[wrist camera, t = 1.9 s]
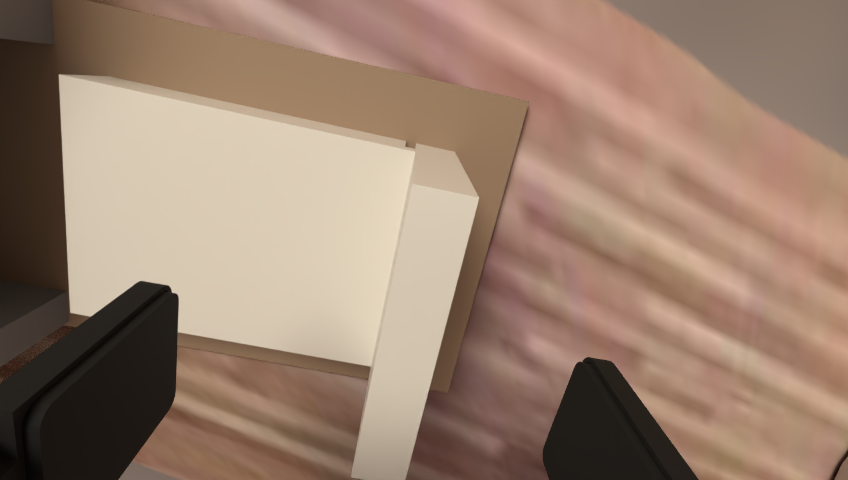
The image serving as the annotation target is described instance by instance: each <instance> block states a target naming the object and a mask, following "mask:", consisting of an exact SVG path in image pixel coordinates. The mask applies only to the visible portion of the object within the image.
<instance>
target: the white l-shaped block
mask: <svg viewBox="0 0 848 480" xmlns="http://www.w3.org/2000/svg"><path fill="white" fill-rule="evenodd" d="M59 92H60V112H61V133H62V154H63V175H64V195H65V216H66V237H67V258H68V279H69V299H70V313H74V314H79V315H85V316H92V315H94V314H95V313H96V312H98V311H99V310H101V309H102V308H103V307H105V306H106V305H107V304H109V303H110V302H111V301H113V300H114V299H115V298H117V297H118V296H120V295H121V294H122V293H124V292H125V291H126V290H128V289H129V288H130V287H132V286H133V285H134V284H136V283H137V282H139V281H146V282H151V283H157V284H163V285H169V286H170V287H171V290H172V293H176V294H177V295H178V297H179V310H178V332H180V333H186V334H191V335H197V336H202V337H208V338H214V339H219V340H225V341H230V342H236V343H241V344H247V345H253V346H258V347H264V348H269V349H275V350H281V351H286V352H292V353H297V354H303V355H308V356H314V357H320V358H325V359H331V360H336V361H342V362H348V363H353V364H359V365H364V366H370V367H371V368H370V374H369V379H368V385H367V390H366V396H365V401H364V407H363V412H362V418H361V423H360V429H359V434H358V440H357V445H356V451H355V456H354V462H353V468H352V473H351V478H358V479H364V480H405V479H406V475H407V472H408V468H409V464H410V460H411V456H412V453H413V449H414V445H415V441H416V437H417V433H418V430H419V426H420V422H421V418H422V414H423V411H424V407H425V403H426V399H427V395H428V391H429V388H430V384H431V380H432V376H433V372H434V369H435V365H436V361H437V357H438V353H439V350H440V346H441V342H442V338H443V334H444V330H445V327H446V323H447V319H448V315H449V311H450V308H451V304H452V300H453V296H454V292H455V288H456V285H457V281H458V277H459V273H460V269H461V266H462V262H463V258H464V254H465V250H466V247H467V243H468V239H469V235H470V231H471V227H472V224H473V220H474V216H475V212H476V208H477V205H478V201H479V196H478V194H477V193H476V191H475V189H474V187H473V185H472V183H471V181H470V179H469V178H468V176H467V174H466V172H465V170H464V168H463V166H462V164H461V163H460V161H459V159H458V157H457V155H456V153H455V152H454V151H449V150H445V149H440V148H435V147H431V146H426V145H422V144H417V143H416V146H415V149H413V148H408V147H405V146H406V141H403V140H399V139H394V138H390V137H385V136H380V135H376V134H371V133H367V132H362V131H358V130H353V129H348V128H344V127H339V126H335V125H330V124H326V123H321V122H316V121H312V120H307V119H303V118H298V117H294V116H289V115H284V114H280V113H275V112H271V111H266V110H261V109H257V108H252V107H248V106H243V105H239V104H234V103H229V102H225V101H220V100H216V99H211V98H207V97H202V96H197V95H193V94H188V93H184V92H179V91H175V90H170V89H165V88H161V87H156V86H152V85H147V84H142V83H138V82H133V81H129V80H124V79H120V78H115V77H110V76H90V75H65V74H59Z"/></svg>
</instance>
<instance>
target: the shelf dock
mask: <svg viewBox="0 0 848 480" xmlns="http://www.w3.org/2000/svg"><path fill="white" fill-rule="evenodd" d="M59 74H65V75H90V76H110V77H115V78H120V79H124V80H129V81H133V82H138V83H142V84H147V85H152V86H156V87H161V88H165V89H170V90H175V91H179V92H184V93H188V94H193V95H197V96H202V97H207V98H211V99H216V100H220V101H225V102H229V103H234V104H239V105H243V106H248V107H252V108H257V109H261V110H266V111H271V112H275V113H280V114H284V115H289V116H294V117H298V118H303V119H307V120H312V121H316V122H321V123H326V124H330V125H335V126H339V127H344V128H348V129H353V130H358V131H362V132H367V133H371V134H376V135H380V136H385V137H390V138H394V139H399V140H403V141H406V146H405V147H408V148H413V149H415V146H416V143H417V144H422V145H426V146H431V147H435V148H440V149H445V150H449V151H454V152H455V153H456V155H457V157H458V159H459V161H460V163H461V164H462V166H463V168H464V170H465V172H466V174H467V176H468V178H469V179H470V181H471V183H472V185H473V187H474V189H475V191H476V193H477V194H478V196H479V201H478V205H477V208H476V212H475V216H474V220H473V224H472V227H471V231H470V235H469V239H468V243H467V247H466V250H465V254H464V258H463V262H462V266H461V269H460V273H459V277H458V281H457V285H456V288H455V292H454V296H453V300H452V304H451V308H450V311H449V315H448V319H447V323H446V327H445V330H444V334H443V338H442V342H441V346H440V350H439V353H438V357H437V361H436V365H435V369H434V372H433V376H432V380H431V384H430V388H429V390H433V391H438V392H444V393H448V391H449V387H450V383H451V380H452V376H453V373H454V369H455V365H456V362H457V358H458V355H459V351H460V348H461V344H462V340H463V337H464V333H465V330H466V326H467V323H468V319H469V315H470V312H471V308H472V305H473V301H474V297H475V294H476V290H477V287H478V283H479V280H480V276H481V272H482V269H483V265H484V262H485V258H486V255H487V251H488V247H489V244H490V240H491V237H492V233H493V229H494V226H495V222H496V219H497V215H498V212H499V208H500V204H501V201H502V197H503V194H504V190H505V187H506V183H507V179H508V176H509V172H510V169H511V165H512V161H513V158H514V154H515V151H516V147H517V144H518V140H519V136H520V133H521V129H522V126H523V122H524V119H525V115H526V111H527V108H528V104H529V102H528V101H524V100H520V99H515V98H511V97H507V96H502V95H498V94H494V93H489V92H485V91H481V90H476V89H472V88H468V87H463V86H459V85H455V84H450V83H446V82H441V81H437V80H433V79H428V78H424V77H420V76H415V75H411V74H407V73H402V72H398V71H394V70H389V69H385V68H381V67H376V66H372V65H368V64H363V63H359V62H355V61H350V60H346V59H341V58H337V57H333V56H328V55H324V54H320V53H315V52H311V51H307V50H302V49H298V48H294V47H289V46H285V45H281V44H276V43H272V42H268V41H263V40H259V39H255V38H250V37H246V36H241V35H237V34H233V33H228V32H224V31H220V30H215V29H211V28H207V27H202V26H198V25H194V24H189V23H185V22H181V21H176V20H172V19H168V18H163V17H159V16H155V15H150V14H146V13H141V12H137V11H133V10H128V9H124V8H120V7H115V6H111V5H107V4H102V3H98V2H94V1H89V0H0V367H1V366H3V365H4V364H6V363H7V362H9V361H10V360H12V359H13V358H15V357H16V356H18V355H19V354H21V353H22V352H24V351H25V350H27V349H28V348H30V347H32V346H33V345H35V344H36V343H38V342H39V341H41V340H42V339H44V338H45V337H47V336H48V335H50V334H51V333H53V332H54V331H56V330H57V329H59V328H60V327H62V326H63V325H65V326H71V327H78V326H79V325H80V324H82V323H83V322H84V321H86V320H87V319H88V318H90V317H91V316H85V315H79V314H74V313H70V299H69V279H68V258H67V237H66V216H65V195H64V175H63V154H62V133H61V112H60V92H59ZM177 345H178V346H184V347H189V348H195V349H201V350H206V351H212V352H218V353H223V354H229V355H235V356H240V357H246V358H252V359H257V360H263V361H269V362H274V363H280V364H286V365H291V366H297V367H303V368H308V369H314V370H319V371H325V372H331V373H336V374H342V375H348V376H353V377H359V378H365V379H369V374H370V368H371V367H370V366H364V365H359V364H353V363H348V362H342V361H336V360H331V359H325V358H320V357H314V356H308V355H303V354H297V353H292V352H286V351H281V350H275V349H269V348H264V347H258V346H253V345H247V344H241V343H236V342H230V341H225V340H219V339H214V338H208V337H202V336H197V335H191V334H186V333H180V332H178V337H177Z"/></svg>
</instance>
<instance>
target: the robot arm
mask: <svg viewBox="0 0 848 480" xmlns="http://www.w3.org/2000/svg"><path fill="white" fill-rule="evenodd" d="M178 310H179V297H178V295H177V294H176V293H172V290H171V287H170V286H169V285H163V284H157V283H151V282H146V281H139V282H137V283H136V284H134V285H133V286H132V287H130V288H129V289H128V290H126V291H125V292H124V293H122V294H121V295H120V296H118V297H117V298H115V299H114V300H113V301H111V302H110V303H109V304H107V305H106V306H105V307H103V308H102V309H101V310H99V311H98V312H96V313H95V314H94V315H92V316H91V317H90V318H88V319H87V320H86V321H84V322H83V323H82V324H80V325H79V326H78V327H76V328H75V329H73V330H72V331H71V332H69V333H68V334H67V335H65V336H64V337H63V338H61V339H60V340H59V341H57V342H56V343H54V344H53V345H52V346H50V347H49V348H48V349H46V350H45V351H44V352H42V353H41V354H40V355H38V356H37V357H35V358H34V359H33V360H31V361H30V362H29V363H27V364H26V365H25V366H23V367H22V368H21V369H19V370H18V371H17V372H15V373H14V374H12V375H11V376H10V377H8V378H7V379H6V380H4V381H3V382H2V383H0V480H118V479H119V478H120V476H121V475H122V474H123V472H124V471H125V469H126V468H127V467H128V466H129V464H130V463H131V461H132V460H133V459H134V457H135V456H136V455H137V453H138V452H139V450H140V449H141V448H142V446H143V445H144V444H145V442H146V441H147V440H148V438H149V437H150V435H151V434H152V433H153V431H154V430H155V429H156V427H157V426H158V424H159V423H160V422H161V420H162V419H163V418H164V416H165V415H166V414H167V412H168V411H169V409H170V408H171V405H172V403H173V401H174V397H175V391H176V365H177V337H178ZM543 462H544V466H545V468H546V471H547V474H548V477H549V480H699V479H698V478H697V477H696V475H695V474H694V473H693V471H692V470H691V468H690V467H689V466H688V464H687V463H686V462H685V460H684V459H683V458H682V456H681V455H680V453H679V452H678V451H677V449H676V448H675V447H674V445H673V444H672V443H671V441H670V440H669V438H668V437H667V436H666V434H665V433H664V432H663V430H662V429H661V427H660V426H659V425H658V423H657V422H656V421H655V419H654V418H653V417H652V415H651V414H650V412H649V411H648V410H647V408H646V407H645V406H644V404H643V403H642V401H641V400H640V399H639V397H638V396H637V395H636V393H635V392H634V391H633V389H632V388H631V386H630V385H629V384H628V382H627V381H626V380H625V378H624V377H623V376H622V374H621V373H620V371H619V370H618V369H617V367H616V366H615V365H614V363H612V362H611V361H607V360H601V359H595V358H590V357H587V358H585V359H584V360H583V362H578V363H577V364H576V365H575V367H574V370H573V372H572V375H571V378H570V380H569V383H568V385H567V388H566V391H565V393H564V396H563V398H562V401H561V404H560V406H559V409H558V411H557V414H556V416H555V419H554V422H553V424H552V427H551V429H550V432H549V435H548V437H547V440H546V442H545V445H544V448H543ZM834 480H848V456H847V457H846V459H845V460H844V461H843V463H842V464H841V466H840V469H839V471H838V473H837V475H836V477H835V479H834Z"/></svg>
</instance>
